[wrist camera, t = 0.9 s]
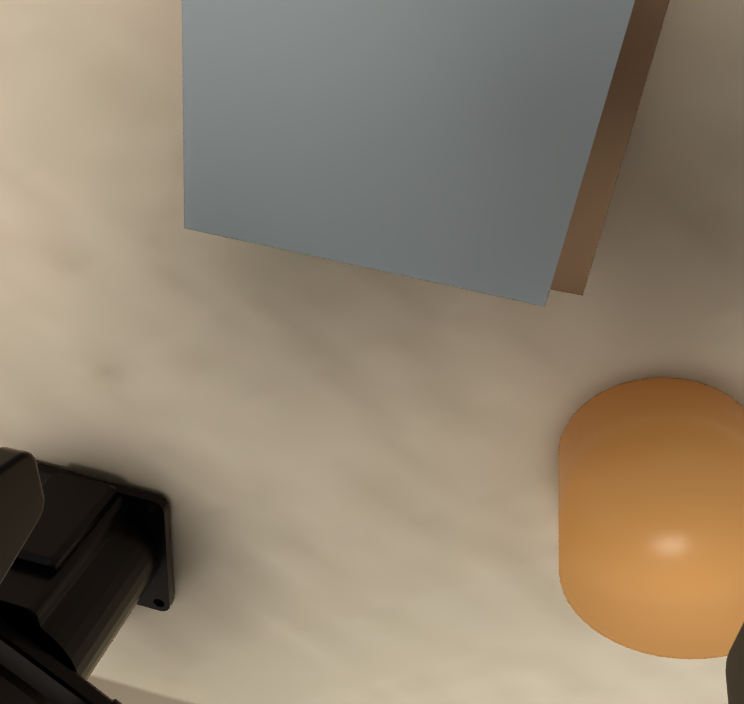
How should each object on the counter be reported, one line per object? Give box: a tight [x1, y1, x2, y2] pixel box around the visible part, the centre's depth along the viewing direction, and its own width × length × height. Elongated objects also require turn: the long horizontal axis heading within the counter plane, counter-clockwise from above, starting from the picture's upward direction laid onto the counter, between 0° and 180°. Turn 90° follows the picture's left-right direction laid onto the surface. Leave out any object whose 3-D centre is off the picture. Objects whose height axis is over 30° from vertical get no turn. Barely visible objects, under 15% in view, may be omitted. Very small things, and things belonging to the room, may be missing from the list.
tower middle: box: [182, 0, 635, 306], centre depth 14 cm, size 8×8×3 cm
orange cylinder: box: [558, 378, 744, 659], centre depth 20 cm, size 6×6×5 cm
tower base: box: [550, 0, 669, 296], centre depth 17 cm, size 10×10×3 cm
